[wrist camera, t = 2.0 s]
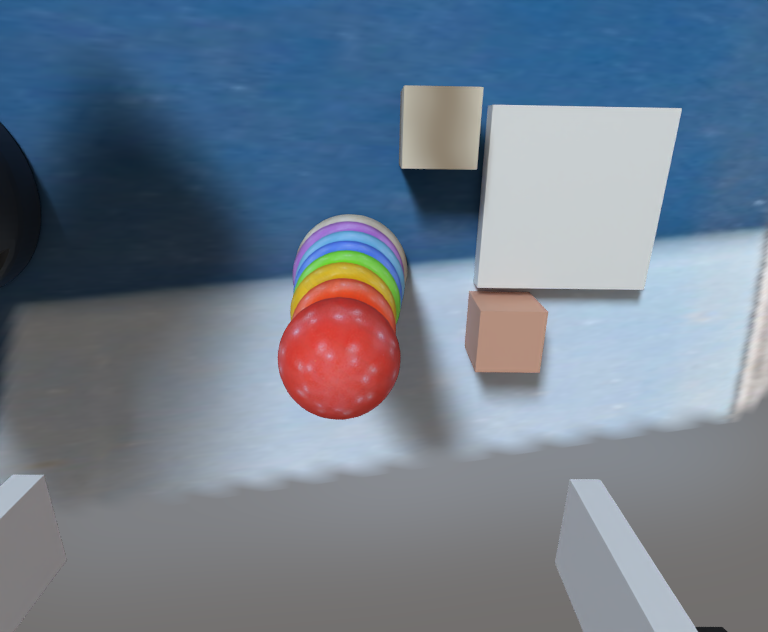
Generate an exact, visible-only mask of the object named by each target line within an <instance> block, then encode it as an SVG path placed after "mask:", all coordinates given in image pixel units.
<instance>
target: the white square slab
mask: <svg viewBox="0 0 768 632" xmlns="http://www.w3.org/2000/svg"><path fill="white" fill-rule="evenodd" d="M681 111H682V108H635V107H581V106H527V105H491V106H488V112H487V124H486V136H485V148H484V160H483V172H482V184H481V196H480V208H479V220H478V232H477V244H476V256H475V268H474V280H473V282H474V284H475V285H476V287H477V288H536V289H619V290H644V286H645V282H646V277H647V272H648V267H649V263H650V258H651V253H652V248H653V244H654V239H655V234H656V229H657V225H658V220H659V215H660V210H661V206H662V201H663V196H664V191H665V187H666V182H667V177H668V172H669V168H670V163H671V158H672V153H673V149H674V144H675V139H676V134H677V130H678V125H679V120H680V115H681Z"/></svg>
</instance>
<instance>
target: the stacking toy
mask: <svg viewBox="0 0 768 632" xmlns="http://www.w3.org/2000/svg"><path fill="white" fill-rule="evenodd" d="M406 279H407V261H406V257H405V253H404V250H403V248H402V246H401V244H400V243H399V241H398V239H397V238H396V237H395V235H394V234H393V233H392V232H391V231H390V230H389V229H388V228H387V227H385V226H384V225H383V224H381V223H380V222H378V221H376V220H374V219H371V218H369V217H366V216H361V215H351V214H346V215H338V216H334V217H331V218H328V219H326V220H324V221H322V222H321V223H319V224H318V225H316V226H315V227H314V228H313V229H312V230H311V231H310V232H309V233H308V234H307V235H306V236H305V238H304V240H303V241H302V243H301V245H300V247H299V249H298V252H297V255H296V259H295V262H294V266H293V284H294V295H293V298H292V302H291V312H290V313H291V322H290V323H289V325H288V326H287V328H286V329H285V331H284V333H283V336H282V338H281V341H280V345H279V351H278V367H279V373H280V376H281V379H282V381H283V384H284V386H285V388H286V390H287V392H288V393H289V395H290V396H291V397H292V398H293V399H294V400H295V401H296V402H297V403H298V404H299V405H300V406H301V407H302V408H304V409H305V410H307V411H308V412H310V413H313V414H315V415H317V416H320V417H323V418H328V419H349V418H354V417H358V416H361V415H363V414H365V413H367V412H369V411H371V410H372V409H374V408H375V407H376V406H378V405H379V404H380V403H381V402H382V401H383V400H384V399H385V398H386V397H387V395H388V394H389V392H390V391H391V390H392V388H393V386H394V384H395V382H396V380H397V377H398V373H399V368H400V348H399V343H398V340H397V337H396V324H397V321H398V318H399V314H400V309H401V304H402V300H403V296H404V289H405V283H406Z"/></svg>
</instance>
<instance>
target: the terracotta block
mask: <svg viewBox="0 0 768 632" xmlns="http://www.w3.org/2000/svg"><path fill="white" fill-rule="evenodd" d="M547 317H548V311H547V310H546V309H545V308H544V307H543V306H542V305H541V304H540V303H539V302H538V301H537V300H536V299H535V298H534V297H533V296H532V295H531V294H530V293H529V292H489V291H469V299H468V311H467V324H466V336H465V348H466V351H467V353H468V356H469V358H470V360H471V363H472V365H473V368H474V370H475V372H522V373H540V366H541V359H542V352H543V345H544V338H545V331H546V324H547Z"/></svg>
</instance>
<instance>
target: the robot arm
mask: <svg viewBox="0 0 768 632" xmlns="http://www.w3.org/2000/svg"><path fill="white" fill-rule="evenodd" d="M40 226H41V209H40V200H39V195H38V191H37V187H36V183H35V180H34V177H33V175H32V172H31V170H30V167H29V165H28V163H27V161H26V159H25V157H24V155H23V154H22V152H21V150H20V149H19V147H18V146H17V144H16V142H15V141H14V140H13V138H12V137H11V136H10V134H9V133H8V132H7V130H6V129H5V128H4V127H3V126H2V125H1V124H0V287H2V286H4V285H5V284H7V283H9V282H10V281H11V280H13V279H14V278H15V277H16V276H17V275H18V274H19V273H20V272H21V271H22V270H23V269H24V268H25V266H26V265H27V264H28V262H29V261H30V259H31V257H32V255H33V253H34V251H35V248H36V245H37V242H38V238H39V234H40ZM66 561H67V558H66V555H65V551H64V547H63V544H62V540H61V536H60V532H59V529H58V525H57V521H56V518H55V514H54V510H53V507H52V503H51V499H50V495H49V492H48V488H47V484H46V481H45V477H44V475H12V476H11V477H10V478H9V479H7V480H6V481H5V482H4V483H3V484H2V485H1V486H0V632H14V631H15V629H16V628H17V627H18V625H19V624H20V623H21V621H22V620H23V619H24V617H25V616H26V615H27V613H28V612H29V611H30V609H31V608H32V607H33V605H34V604H35V602H36V601H37V600H38V598H39V597H40V596H41V594H42V593H43V592H44V590H45V589H46V588H47V586H48V585H49V584H50V582H51V581H52V580H53V578H54V577H55V576H56V574H57V573H58V571H59V570H60V569H61V567H62V566H63V565H64V563H65V562H66ZM555 564H556V567H557V569H558V572H559V574H560V576H561V579H562V581H563V584H564V586H565V589H566V591H567V594H568V596H569V598H570V601H571V603H572V606H573V608H574V611H575V613H576V615H577V618H578V620H579V622H580V625H581V628H582V630H583V632H727V631H726V630H725V629H724V628H723V627H695V626H694V625H693V623H692V622H691V620H690V618H689V617H688V615H687V614H686V612H685V611H684V609H683V607H682V606H681V604H680V603H679V601H678V600H677V598H676V597H675V595H674V594H673V592H672V590H671V589H670V587H669V586H668V584H667V583H666V581H665V580H664V578H663V576H662V575H661V573H660V572H659V570H658V569H657V567H656V566H655V564H654V563H653V561H652V559H651V558H650V556H649V555H648V553H647V552H646V550H645V548H644V547H643V545H642V544H641V542H640V541H639V540H638V538H637V536H636V534H635V533H634V532H633V530H632V529H631V527H630V525H629V524H628V522H627V521H626V519H625V517H624V516H623V514H622V513H621V511H620V510H619V508H618V507H617V505H616V503H615V502H614V500H613V499H612V497H611V496H610V494H609V492H608V491H607V489H606V488H605V486H604V485H603V483H602V482H601V480H594V479H593V480H592V479H589V480H588V479H570V482H569V487H568V494H567V499H566V504H565V510H564V515H563V521H562V527H561V532H560V538H559V543H558V549H557V555H556V560H555Z"/></svg>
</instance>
